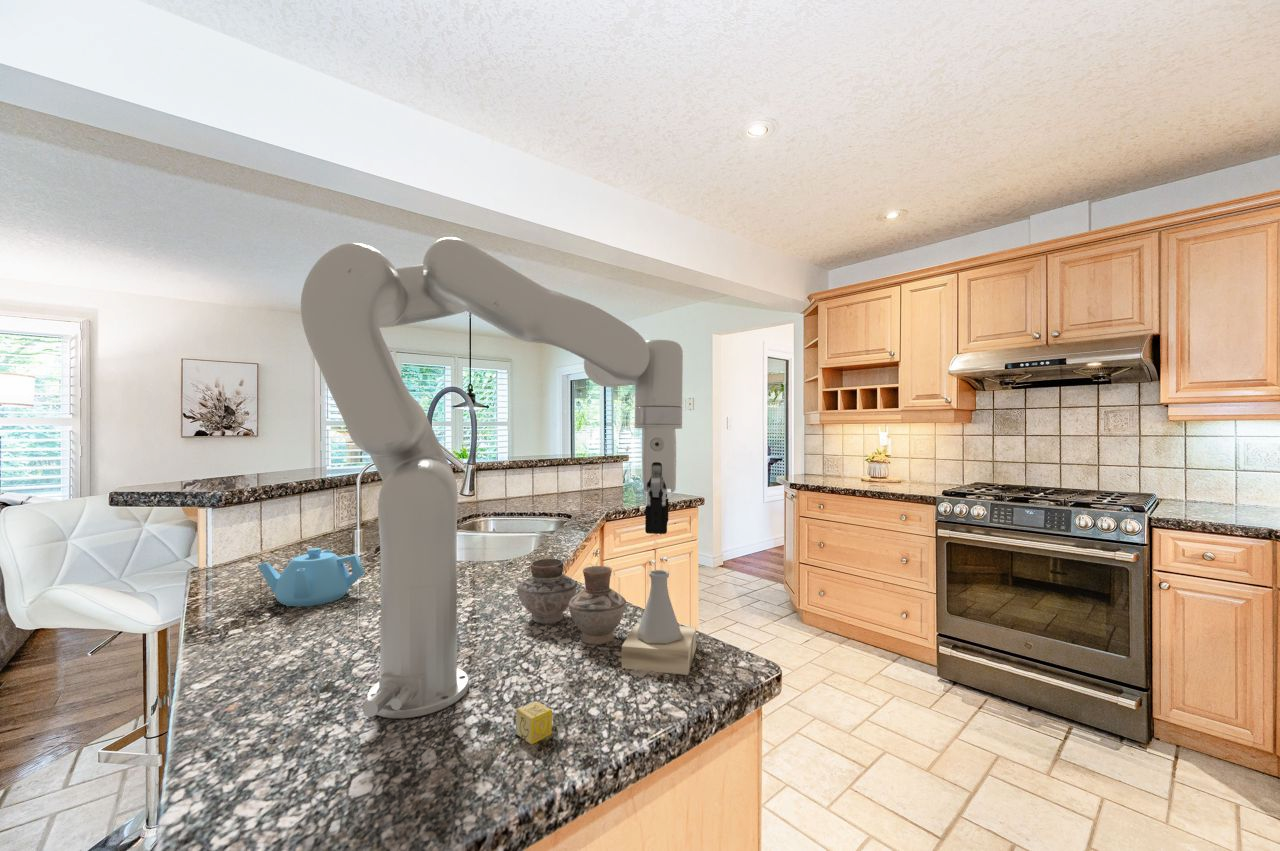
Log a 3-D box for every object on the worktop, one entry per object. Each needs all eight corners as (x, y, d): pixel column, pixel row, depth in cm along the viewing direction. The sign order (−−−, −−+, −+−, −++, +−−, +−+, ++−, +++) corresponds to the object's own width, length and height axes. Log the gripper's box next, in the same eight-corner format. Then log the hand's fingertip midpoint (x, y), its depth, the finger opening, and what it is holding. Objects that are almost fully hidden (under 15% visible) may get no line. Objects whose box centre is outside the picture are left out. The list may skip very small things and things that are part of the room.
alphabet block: (536, 724, 63) (536, 699, 63) (552, 734, 61) (552, 708, 61) (515, 735, 60) (515, 708, 61) (531, 746, 58) (531, 718, 58)
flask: (630, 630, 84) (630, 568, 84) (672, 625, 86) (672, 564, 86) (644, 648, 77) (644, 580, 77) (689, 642, 79) (689, 576, 79)
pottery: (592, 657, 82) (592, 581, 82) (505, 619, 99) (505, 556, 99) (641, 636, 90) (641, 567, 90) (553, 605, 107) (553, 546, 107)
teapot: (294, 615, 101) (294, 560, 102) (255, 603, 109) (255, 552, 109) (368, 594, 115) (368, 545, 115) (328, 585, 122) (329, 539, 122)
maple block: (688, 679, 75) (687, 651, 75) (621, 673, 78) (621, 646, 78) (696, 651, 85) (696, 626, 85) (637, 646, 87) (636, 622, 87)
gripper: (682, 417, 73) (681, 538, 73) (681, 421, 90) (681, 519, 90) (629, 416, 74) (628, 537, 73) (639, 421, 91) (638, 518, 91)
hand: (657, 527), depth 82 cm, fingers open, 9 cm apart
